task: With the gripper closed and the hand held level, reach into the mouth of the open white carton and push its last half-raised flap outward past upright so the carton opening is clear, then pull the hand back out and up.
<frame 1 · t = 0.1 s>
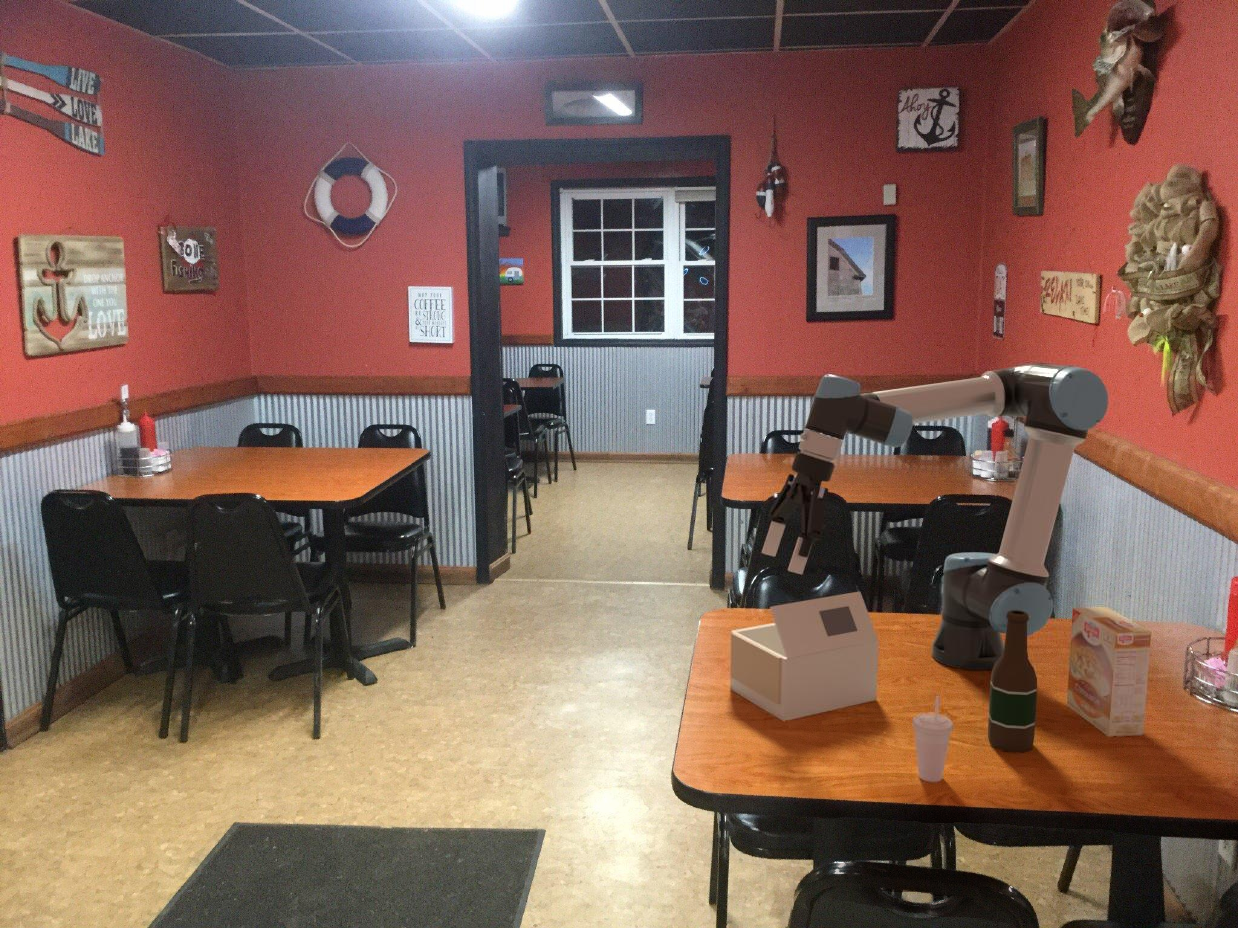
hand: (781, 563, 202), 28 cm above the table, tool tilted 20°, fingers open, 13 cm apart
coffeecake box: (1103, 720, 198), on the table
smoothie: (930, 777, 175), on the table
carton: (802, 694, 211), on the table
near flap: (824, 623, 202), point 16 cm above the table, hinge at 55.0°
beer bottle: (1010, 744, 187), on the table
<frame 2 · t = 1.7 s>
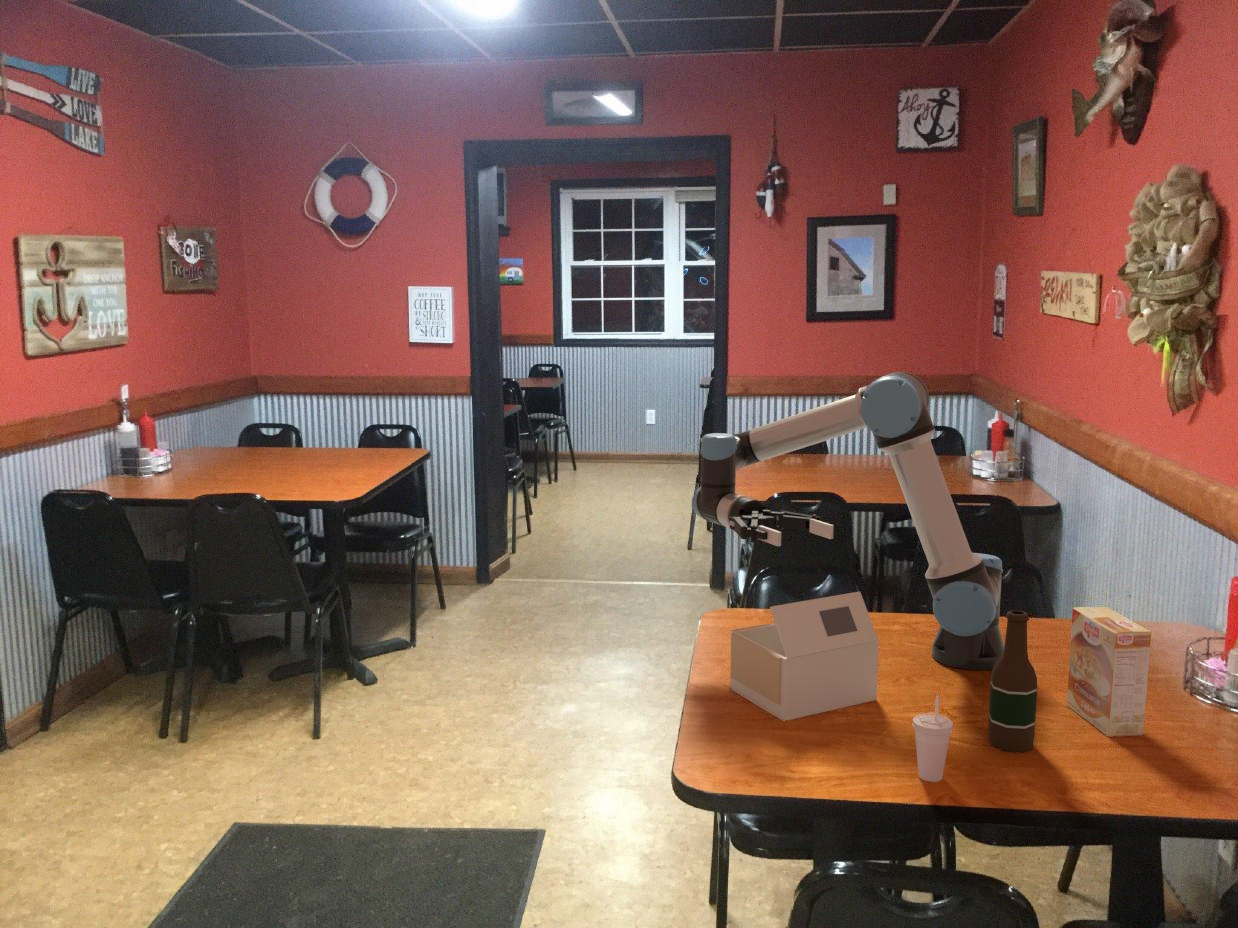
hand: (806, 535, 205), 32 cm above the table, tool horizontal, fingers open, 12 cm apart
nothing on the table moved.
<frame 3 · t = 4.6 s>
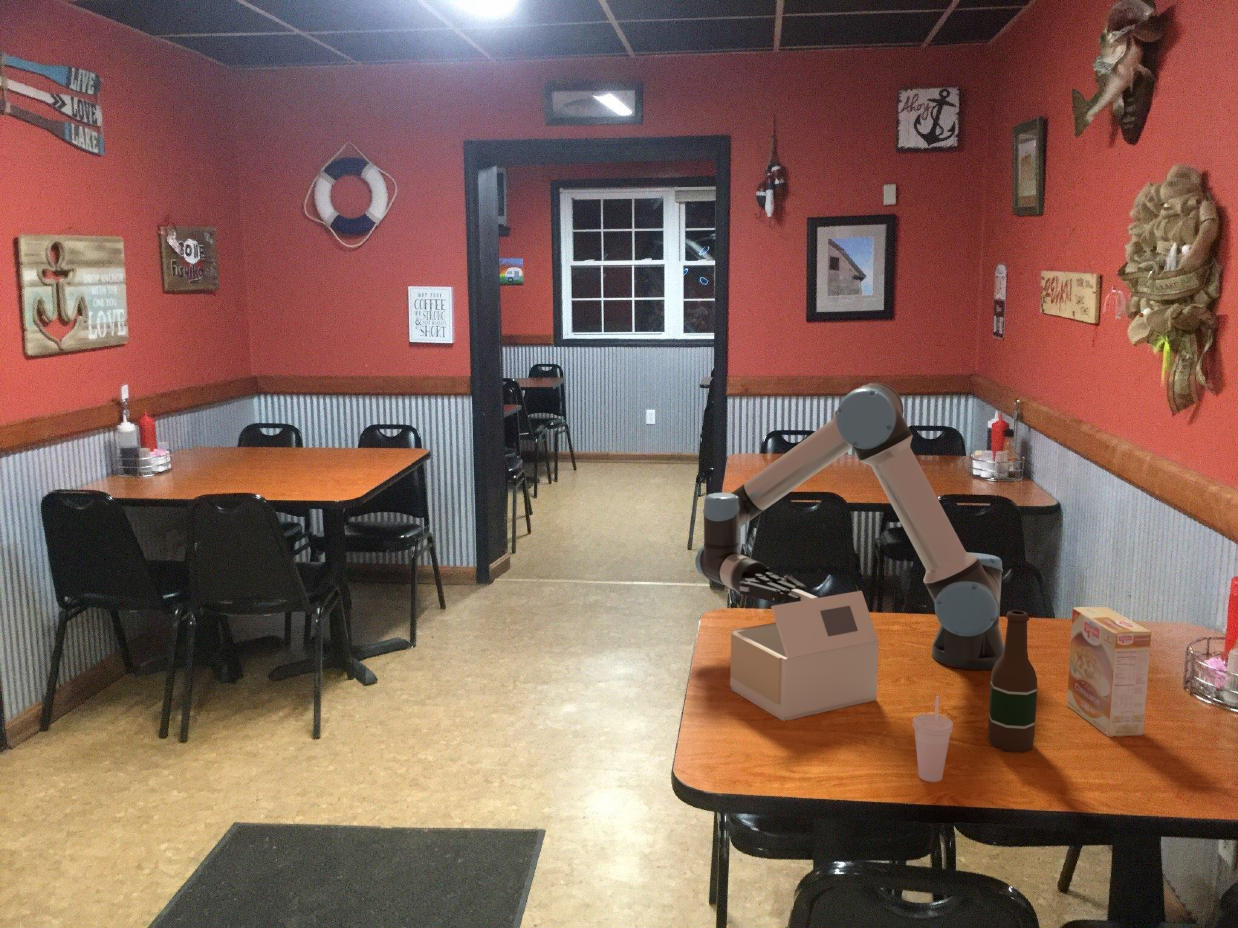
hand: (814, 604, 204), 19 cm above the table, tool horizontal, fingers closed
near flap: (825, 623, 202), point 16 cm above the table, hinge at 58.1°, touching gripper
everything else where it was.
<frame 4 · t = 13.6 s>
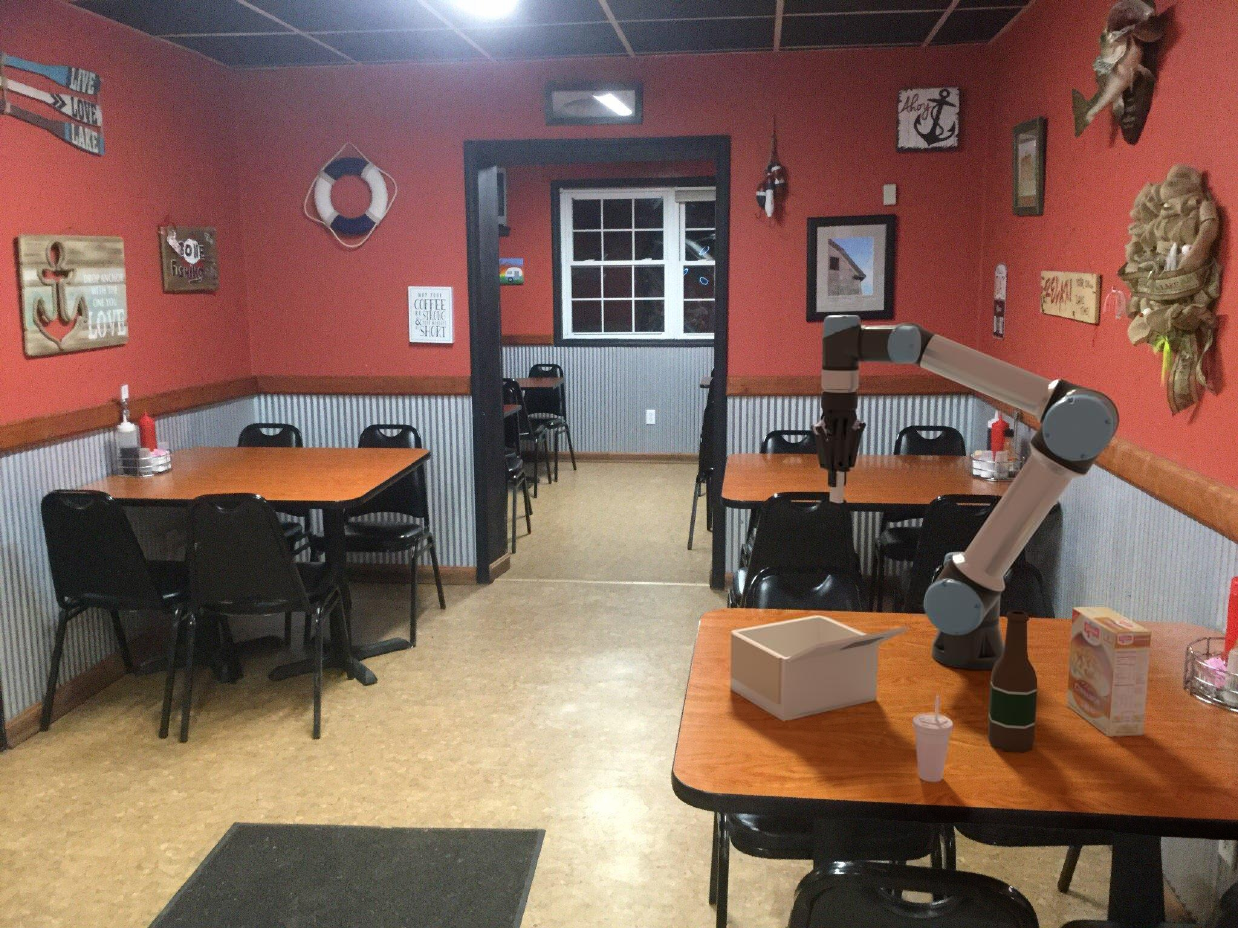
hand: (836, 501, 226), 34 cm above the table, tool pointing down, fingers closed
near flap: (848, 644, 196), point 14 cm above the table, hinge at 147.6°, touching carton
everything else where it was.
at the end: near flap at +148° (first picture: +55°); coffeecake box moved 0.3 cm from its start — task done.
